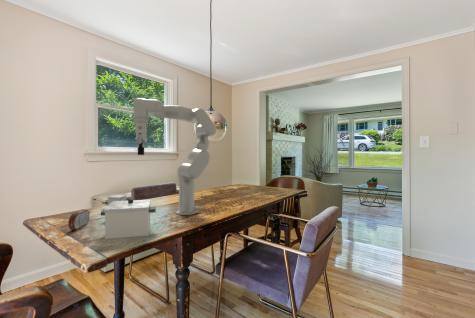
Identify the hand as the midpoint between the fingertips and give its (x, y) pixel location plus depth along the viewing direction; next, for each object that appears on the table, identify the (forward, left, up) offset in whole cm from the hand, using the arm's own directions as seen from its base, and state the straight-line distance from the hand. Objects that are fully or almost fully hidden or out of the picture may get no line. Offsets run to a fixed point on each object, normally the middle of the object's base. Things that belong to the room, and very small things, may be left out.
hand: (141, 154), depth 135 cm
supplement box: (+14, -12, -37) cm, 42 cm away
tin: (+29, +3, -37) cm, 47 cm away
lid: (+4, +16, -25) cm, 30 cm away
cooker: (+4, +16, -37) cm, 41 cm away
